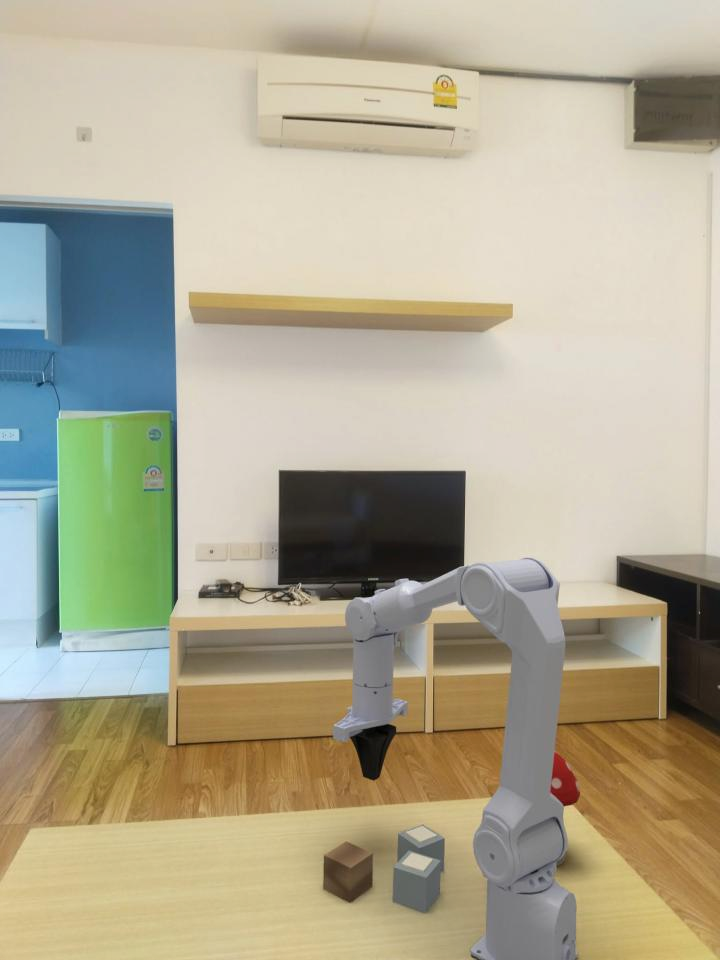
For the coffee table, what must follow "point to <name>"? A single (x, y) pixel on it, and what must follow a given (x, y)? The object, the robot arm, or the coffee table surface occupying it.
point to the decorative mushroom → (563, 786)
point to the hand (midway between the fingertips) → (371, 777)
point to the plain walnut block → (348, 871)
